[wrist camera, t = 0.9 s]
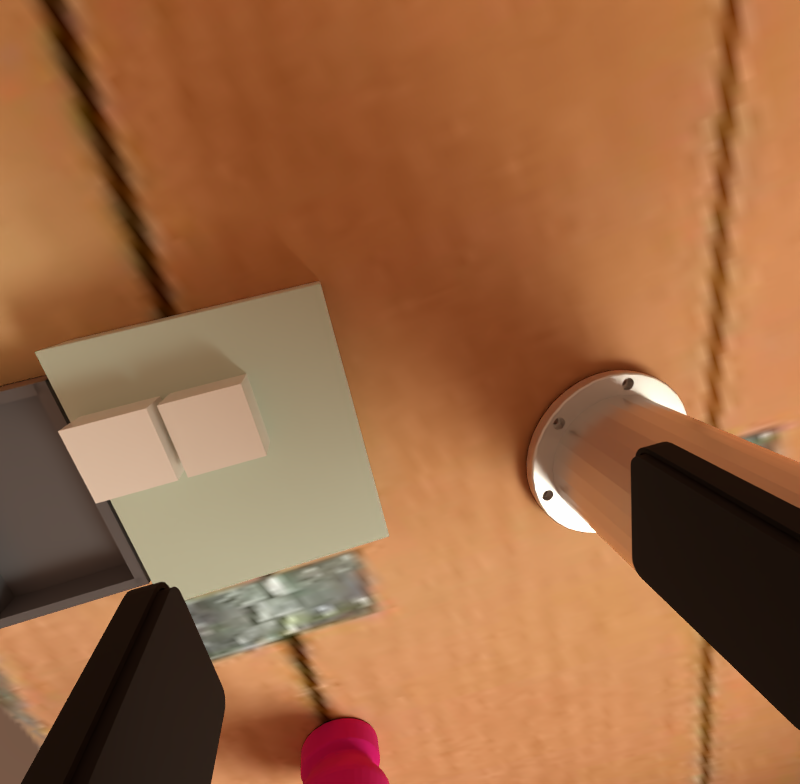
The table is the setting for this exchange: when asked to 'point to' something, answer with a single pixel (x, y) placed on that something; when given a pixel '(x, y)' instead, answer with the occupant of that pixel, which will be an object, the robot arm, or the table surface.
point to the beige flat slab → (248, 481)
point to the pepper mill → (342, 754)
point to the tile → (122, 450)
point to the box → (52, 516)
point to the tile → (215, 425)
